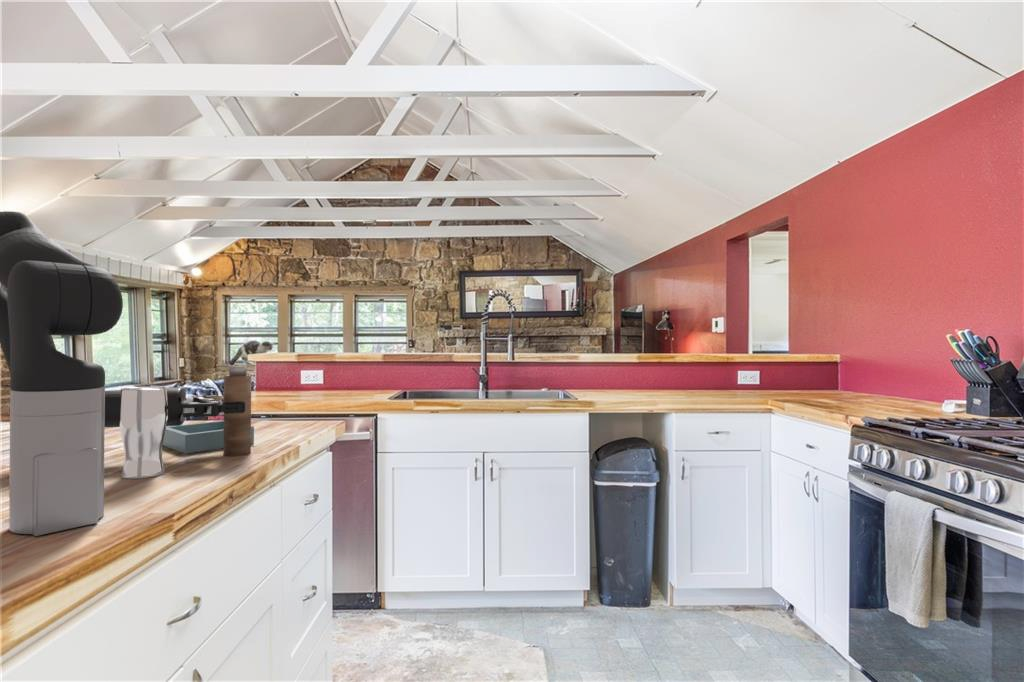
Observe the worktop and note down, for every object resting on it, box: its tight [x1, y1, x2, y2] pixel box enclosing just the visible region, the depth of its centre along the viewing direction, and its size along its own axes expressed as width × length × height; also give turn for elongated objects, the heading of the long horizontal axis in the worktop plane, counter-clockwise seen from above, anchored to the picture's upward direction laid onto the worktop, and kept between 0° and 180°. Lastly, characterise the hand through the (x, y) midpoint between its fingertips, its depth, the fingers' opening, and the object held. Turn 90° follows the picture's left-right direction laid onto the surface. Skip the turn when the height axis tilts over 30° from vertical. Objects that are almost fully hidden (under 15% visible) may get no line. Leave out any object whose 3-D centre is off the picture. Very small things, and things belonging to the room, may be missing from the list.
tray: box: [162, 419, 255, 454], centre depth 117 cm, size 14×14×4 cm
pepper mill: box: [222, 365, 252, 457], centre depth 108 cm, size 5×5×18 cm
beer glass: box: [119, 385, 168, 480], centre depth 91 cm, size 7×7×15 cm
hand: (247, 404), depth 109 cm, fingers open, 8 cm apart
